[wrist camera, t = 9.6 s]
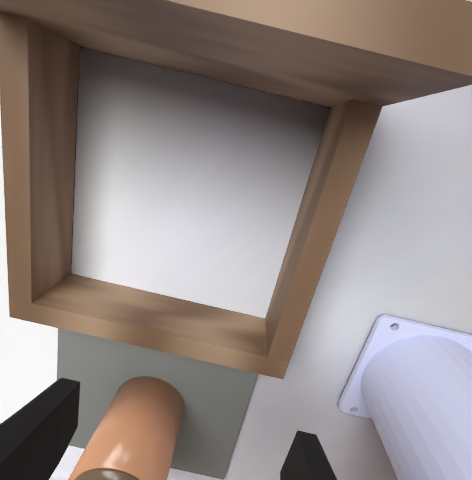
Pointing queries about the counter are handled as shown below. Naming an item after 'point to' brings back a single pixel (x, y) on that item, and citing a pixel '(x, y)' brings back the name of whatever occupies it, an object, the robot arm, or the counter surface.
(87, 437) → the slate mat
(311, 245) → the potting tray
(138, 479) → the peach orange cylinder
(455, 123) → the counter surface
